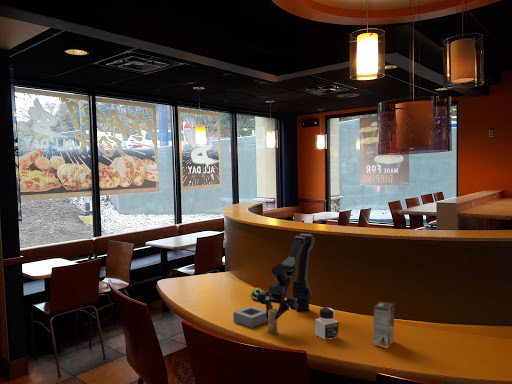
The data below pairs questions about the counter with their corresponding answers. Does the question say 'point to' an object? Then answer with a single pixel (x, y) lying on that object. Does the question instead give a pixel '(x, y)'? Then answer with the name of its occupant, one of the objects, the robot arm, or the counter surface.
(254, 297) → the salad plate
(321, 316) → the medicine bottle
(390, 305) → the coffee box
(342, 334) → the counter surface
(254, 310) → the socket block
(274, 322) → the oak peg
